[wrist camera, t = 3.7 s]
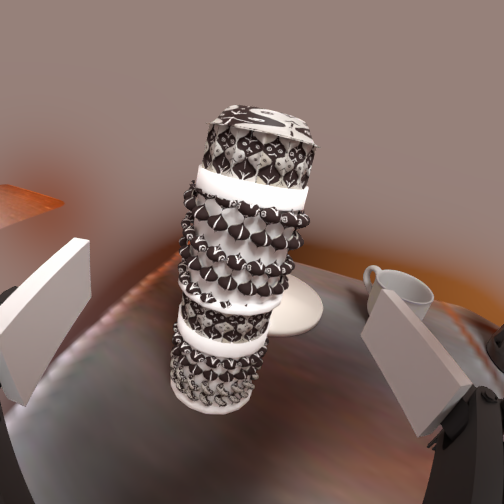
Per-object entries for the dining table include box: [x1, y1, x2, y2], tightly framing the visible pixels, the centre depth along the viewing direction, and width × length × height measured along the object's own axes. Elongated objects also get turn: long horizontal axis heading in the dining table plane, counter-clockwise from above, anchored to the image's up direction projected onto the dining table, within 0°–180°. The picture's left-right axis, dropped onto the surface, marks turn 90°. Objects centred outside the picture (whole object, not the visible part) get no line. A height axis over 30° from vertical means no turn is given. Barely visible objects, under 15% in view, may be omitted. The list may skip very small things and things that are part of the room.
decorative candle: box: [170, 105, 320, 415], centre depth 23 cm, size 9×9×25 cm
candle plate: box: [267, 274, 323, 337], centre depth 46 cm, size 19×19×1 cm
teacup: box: [363, 265, 434, 321], centre depth 45 cm, size 14×11×8 cm
